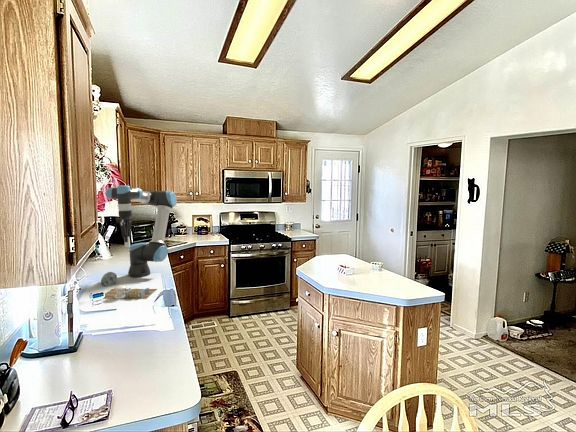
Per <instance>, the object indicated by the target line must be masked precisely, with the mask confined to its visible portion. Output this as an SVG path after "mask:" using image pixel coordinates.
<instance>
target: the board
mask: <svg viewBox="0 0 576 432" xmlns="http://www.w3.org/2000/svg"><path fill="white" fill-rule="evenodd" d="M132 289H133V288H131V290H132ZM139 289H140V291H142V290H143V289H144V288H139ZM128 290H129V288H126V289H125V292H127V291H128ZM157 290H158V288H149V294H147V295H145V296H143V297H142V298H140V297H137V298H130V297H128V298H123V299H122V300H147V299H148V298H149V297H150V296H152V294H154V293H155V292H157ZM104 294H105V297H104V298H103V299H102V300H116V299H115V298H114V296H115V295H117V293H116V290H114V288H112V289H110V290H108V291H107V292H105V293H104Z"/></svg>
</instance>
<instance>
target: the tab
mask: <svg viewBox="0 0 576 432" xmlns="http://www.w3.org/2000/svg"><path fill="white" fill-rule="evenodd" d="M131 289H132V290H131V291H130V298H137V297H139V292H140V289H141V288H131Z"/></svg>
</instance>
